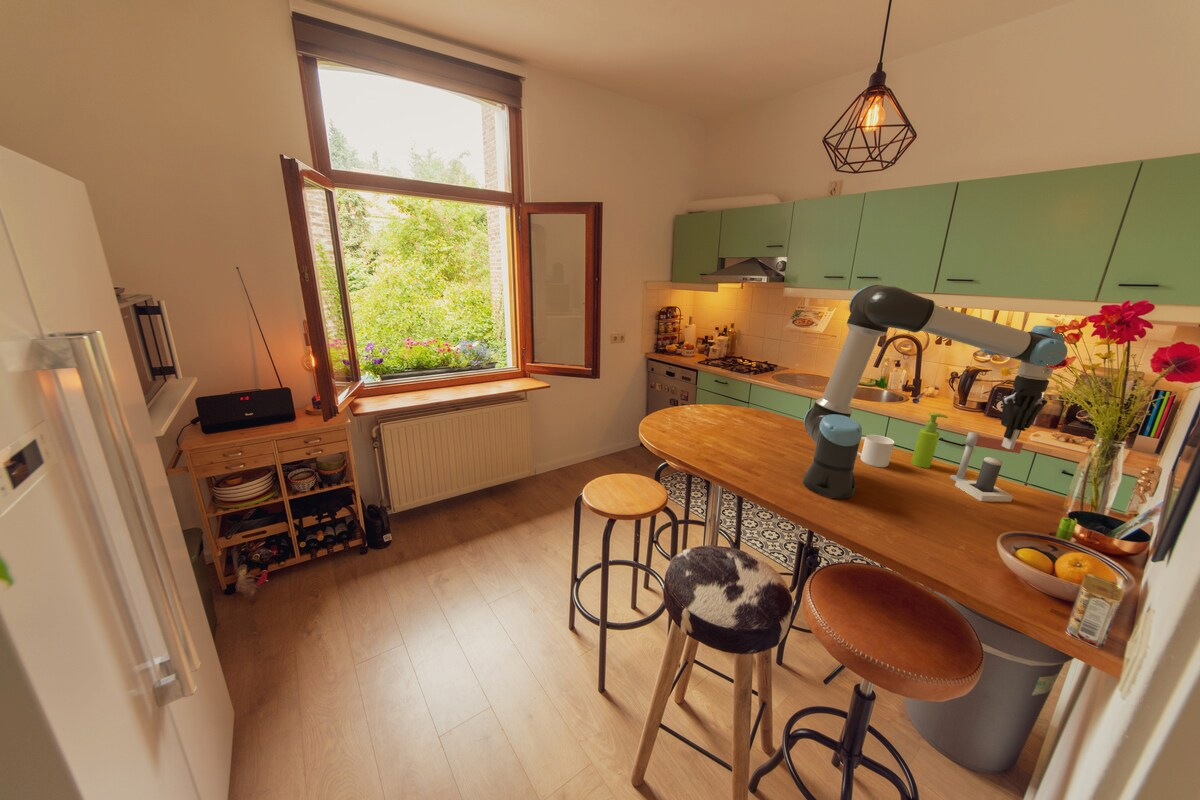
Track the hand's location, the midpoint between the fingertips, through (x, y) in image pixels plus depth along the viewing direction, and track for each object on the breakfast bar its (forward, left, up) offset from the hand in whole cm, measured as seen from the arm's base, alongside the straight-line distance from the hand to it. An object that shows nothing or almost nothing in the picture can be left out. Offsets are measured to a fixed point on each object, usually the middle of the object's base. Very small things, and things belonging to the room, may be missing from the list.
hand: (1007, 447), depth 138 cm
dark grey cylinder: (-6, -3, -15) cm, 17 cm away
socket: (-6, 0, -15) cm, 16 cm away
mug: (-28, +21, -15) cm, 39 cm away
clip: (-1, +3, -2) cm, 4 cm away
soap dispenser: (-10, +18, -15) cm, 26 cm away
